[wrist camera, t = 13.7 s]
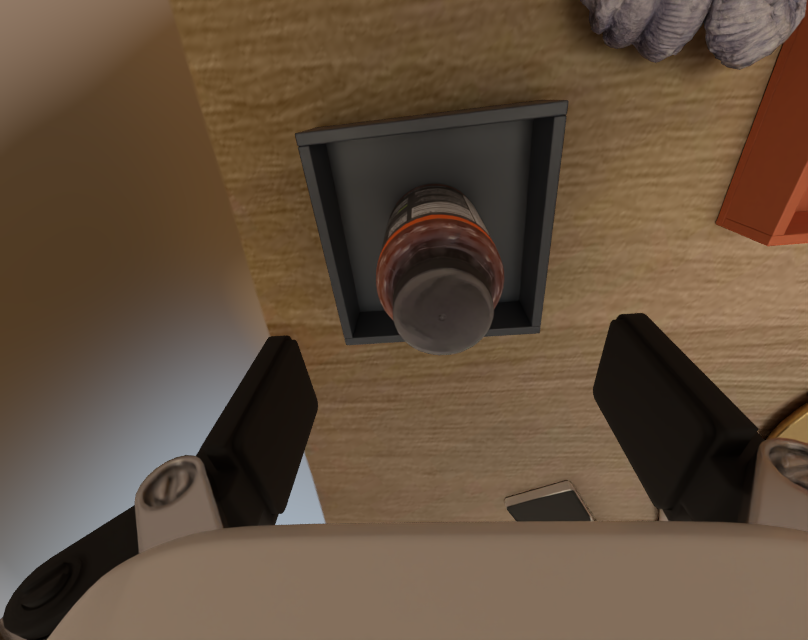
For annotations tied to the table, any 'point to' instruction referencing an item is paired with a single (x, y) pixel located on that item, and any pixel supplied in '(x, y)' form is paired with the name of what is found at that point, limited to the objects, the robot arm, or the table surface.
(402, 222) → the supplement bottle
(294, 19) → the table surface
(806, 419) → the serving platter
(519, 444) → the table surface
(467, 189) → the slate bin
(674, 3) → the grey curved ribbed piece
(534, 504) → the smartphone
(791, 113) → the terracotta bin
